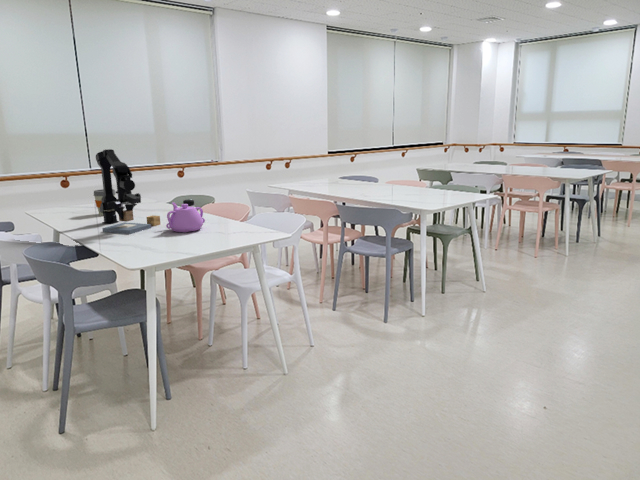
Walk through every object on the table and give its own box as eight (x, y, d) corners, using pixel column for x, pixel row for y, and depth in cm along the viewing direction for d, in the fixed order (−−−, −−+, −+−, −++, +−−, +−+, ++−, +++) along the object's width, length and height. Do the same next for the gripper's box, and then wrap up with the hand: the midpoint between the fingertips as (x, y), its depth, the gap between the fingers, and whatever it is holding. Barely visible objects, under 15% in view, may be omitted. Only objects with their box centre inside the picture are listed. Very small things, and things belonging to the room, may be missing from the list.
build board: (102, 231, 257) (102, 227, 257) (124, 225, 272) (124, 221, 271) (130, 234, 251) (129, 229, 250) (151, 227, 265) (150, 223, 265)
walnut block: (119, 221, 259) (118, 211, 258) (126, 219, 263) (125, 210, 262) (126, 221, 257) (125, 212, 256) (133, 219, 262) (132, 210, 260)
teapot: (192, 223, 275) (190, 199, 272) (213, 229, 260) (211, 203, 257) (155, 230, 260) (152, 204, 257) (175, 236, 245) (173, 208, 242)
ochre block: (147, 225, 272) (146, 216, 271) (153, 224, 276) (152, 215, 275) (154, 226, 270) (153, 217, 269) (160, 224, 275) (159, 215, 273)
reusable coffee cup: (110, 211, 319) (107, 188, 315) (121, 213, 312) (119, 189, 308) (92, 214, 309) (89, 190, 305) (103, 216, 302) (100, 192, 298)
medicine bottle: (193, 221, 281) (191, 200, 279) (181, 221, 283) (179, 200, 280) (198, 219, 288) (196, 198, 286) (187, 218, 290) (185, 198, 287)
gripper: (122, 192, 245) (125, 222, 249) (147, 187, 262) (150, 216, 266) (104, 191, 249) (108, 221, 253) (131, 186, 266) (134, 215, 270)
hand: (126, 218), depth 260 cm, fingers closed on walnut block, 5 cm apart
